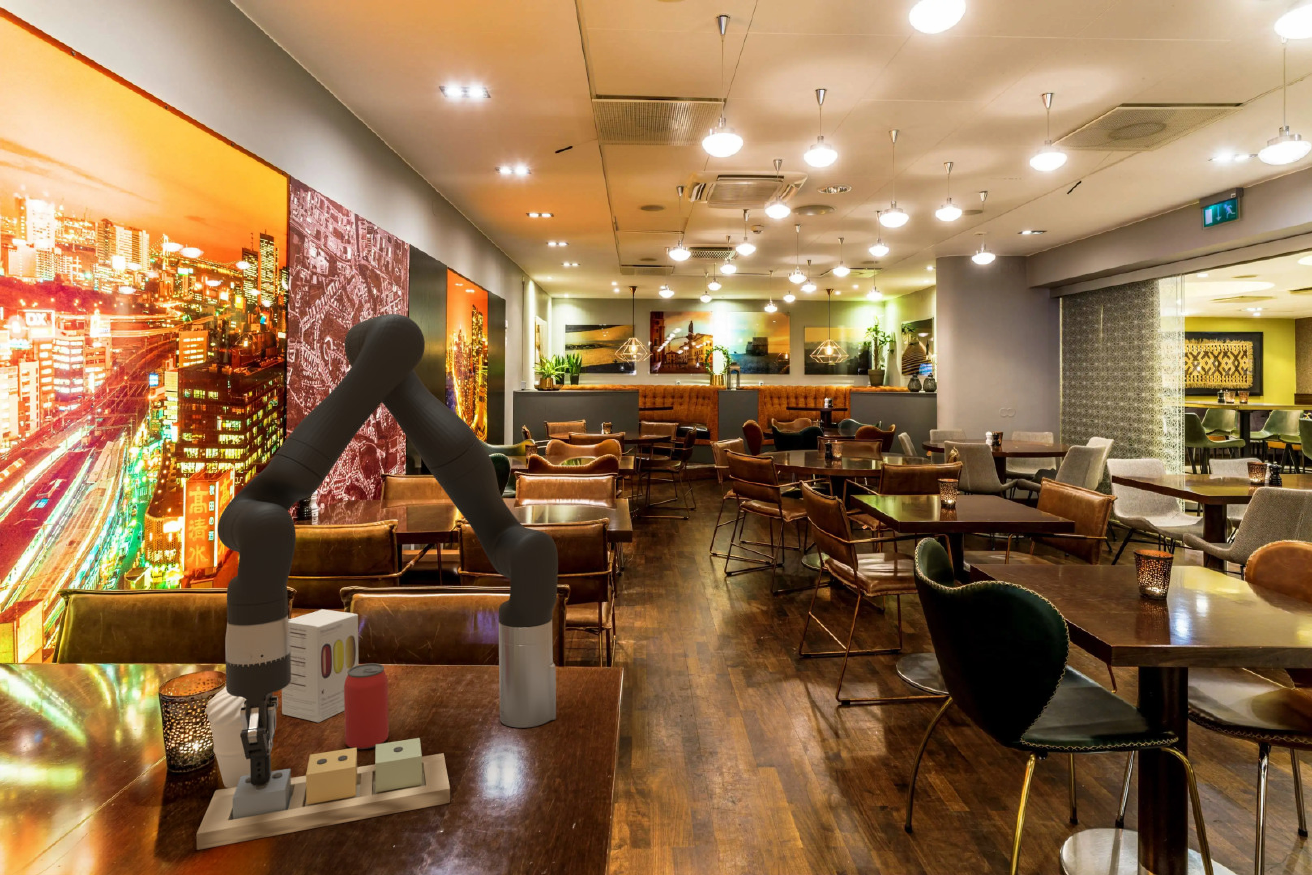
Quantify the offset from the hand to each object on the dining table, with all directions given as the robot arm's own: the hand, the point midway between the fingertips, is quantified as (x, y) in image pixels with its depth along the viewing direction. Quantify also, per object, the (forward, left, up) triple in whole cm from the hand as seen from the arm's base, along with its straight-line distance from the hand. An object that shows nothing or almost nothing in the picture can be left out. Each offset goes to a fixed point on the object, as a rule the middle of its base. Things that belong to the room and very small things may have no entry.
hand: (261, 781), depth 96 cm
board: (-9, 0, -5) cm, 10 cm away
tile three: (0, 0, -4) cm, 4 cm away
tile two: (-9, 0, -3) cm, 9 cm away
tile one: (-17, 0, -3) cm, 17 cm away
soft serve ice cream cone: (+4, -12, -5) cm, 13 cm away
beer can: (-13, -19, -5) cm, 23 cm away
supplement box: (-5, -36, -5) cm, 36 cm away
